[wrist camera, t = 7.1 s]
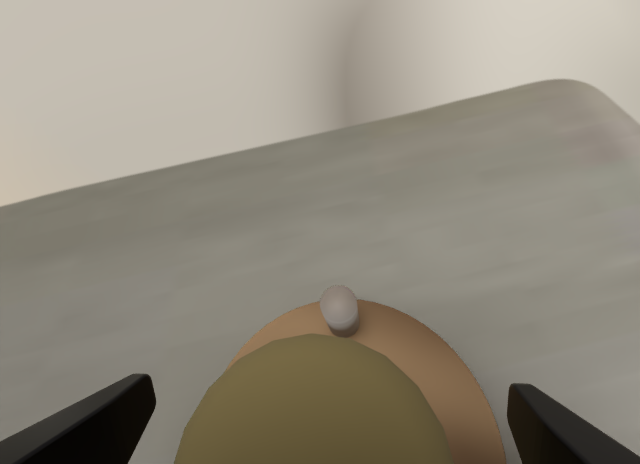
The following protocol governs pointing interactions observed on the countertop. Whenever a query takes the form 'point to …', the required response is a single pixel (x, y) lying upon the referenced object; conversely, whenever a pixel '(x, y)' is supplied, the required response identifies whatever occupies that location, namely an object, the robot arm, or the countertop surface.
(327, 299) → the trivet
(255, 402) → the cork
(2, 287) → the countertop surface
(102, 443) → the robot arm
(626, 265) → the countertop surface
